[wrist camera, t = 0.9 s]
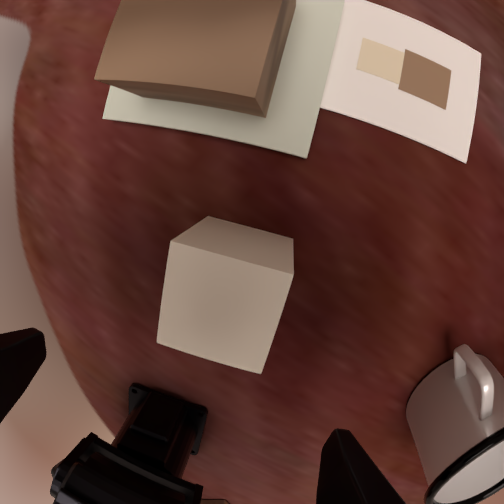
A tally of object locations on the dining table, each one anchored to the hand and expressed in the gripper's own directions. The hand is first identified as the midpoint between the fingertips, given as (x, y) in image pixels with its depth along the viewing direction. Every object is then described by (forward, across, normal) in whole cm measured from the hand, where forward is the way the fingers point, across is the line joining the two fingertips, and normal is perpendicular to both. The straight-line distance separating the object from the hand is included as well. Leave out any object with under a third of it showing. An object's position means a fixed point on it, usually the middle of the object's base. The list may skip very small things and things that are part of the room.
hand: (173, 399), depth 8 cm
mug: (+12, -18, +5) cm, 22 cm away
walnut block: (+10, +4, -12) cm, 16 cm away
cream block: (+12, 0, 0) cm, 12 cm away
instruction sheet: (+11, -6, -14) cm, 19 cm away
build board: (+11, +4, -12) cm, 17 cm away
